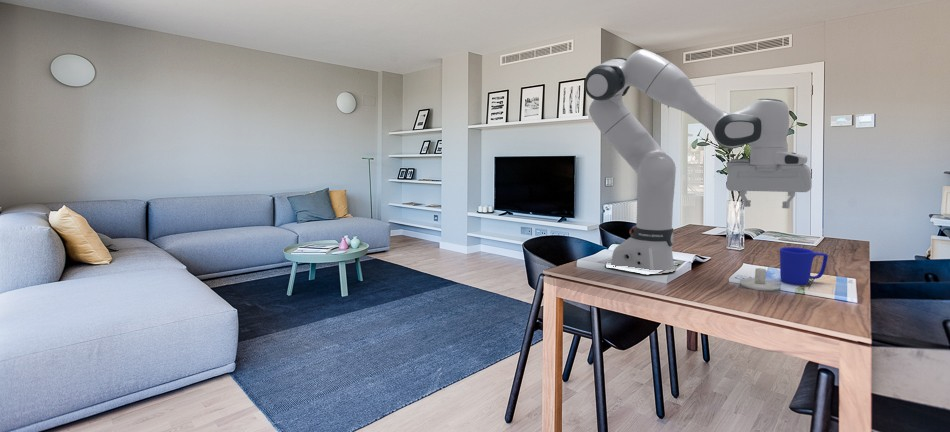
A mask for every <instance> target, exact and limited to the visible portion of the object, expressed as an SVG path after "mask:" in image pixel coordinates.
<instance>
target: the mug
mask: <svg viewBox="0 0 950 432" xmlns="http://www.w3.org/2000/svg"><path fill="white" fill-rule="evenodd" d="M817 256H823V259H822V264H821V268H820V271H819V273H818V274H816V275H813V276H812V275H811V273H812V272H811V271H812V267H813V263H814V262H813V261H814V258H815V257H817ZM828 257H829V254H827V253H824V252H815V251H814V250H812V249H808V248H803V247H792V246H791V247H790V246H787V247H780V249H779V263H780V264H779V273H780V274H779V275H780V276H779V277H780V281H782V282H783V283H785V284H789V285H794V286H804V285H805V286H806V285H807V284H808V283H809V281H810V279H814V280H815V279H816V280H818V279H820V278H821V277H823V275H824V273H825V270H826V268H827V263H828V259H829V258H828Z"/></svg>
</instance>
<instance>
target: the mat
mask: <svg viewBox="0 0 950 432" xmlns="http://www.w3.org/2000/svg"><path fill="white" fill-rule="evenodd" d="M779 284H780V285H781V286H782V284H781V283H779ZM738 289H746V290H753V291H755V290H754V289H750V288H746V287H744V286H742V285H740V283H739V284H738ZM758 291H762V290H758ZM762 292H763V291H762ZM766 292H768V293H774V294H775V293H776V294H781V288H780V289H779V290H776V291H766Z"/></svg>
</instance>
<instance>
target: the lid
mask: <svg viewBox="0 0 950 432" xmlns="http://www.w3.org/2000/svg"><path fill="white" fill-rule="evenodd" d="M754 271H755V272H754V273H755V274H754V278H753V277H751V278H749V277H746V278H741V279H739V284H740V285H742V286H744V287H746V288H750V289H749V290H752V289H754V290H753V291H759V290H762V292H767V291H776V290H779V289H780V290H781V286H782V284H781V283H779V282H777V281H773V280H770V279H766V278H767V277H766V276H767V269H765V268H755V270H754ZM780 284H781V285H780Z"/></svg>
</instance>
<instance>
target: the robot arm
mask: <svg viewBox="0 0 950 432" xmlns="http://www.w3.org/2000/svg"><path fill="white" fill-rule="evenodd" d="M583 86H584V91H585V92H586V94H587V96H589V98H591V99H593V100H592V101H591V103H590V105H589V108H588V112H589V116H590V117H591V120H593V123H594V124H595V125H596V127H597V128H598V130H599V131H600V132H601V134H602V135H603V136H604V137H605V139H606V140H607V141H608V143H610V145H612V146H613V148H614V149H615V151H616V152H617V153H618V154H619V155H620V156H621V157H622V158H623V160H625V162H627V164H628V166H630V167H631V168H632V169H633V170H634V172H635V173H636V174H637V191H636V192H637V198H636V225H633V226H632V227H631V228H630V229H629V231H628V232H629V235H630V237H628V238H627V239H625V240H624V241H623V242H621V243H620V244H619V245H617V246H616V247H615V248H614V249H613V252H612V255H611V259H608V260H607V261H606V262H608V263H611V265H615V267H616V266H628V267H635V268H644V269H649V270H671V269H674V268H675V269H676V267H675V262H674V256H673V244H674V237H675V236H674V235H675V234H674V228H673V213H674V212H673V211H674V210H673V208H674V198H675V197H674V196H675V187H676V186H675V185H676V171H677V169H676V168H677V167H676V164H675V162H674V160H673V159H672V157H671V156H669V155H668V154H667V152H666V151H664V150H663V148H662V147H661V146H660V145H659V143H658V142H657V141H656V140H655V139H654V138H653V136H652V135H651V134H650V133H649V132H648V130H647V129H646V128H645V127H644V126H643V125H642V124H641V122H640V121H639V120H638V119H637V118H636V116H634V114H633V113H632V112H631V110H630V109H629V108H628V107H627V106H626V105H625V103H624V102H623V96H626V94H627V93H628V91H629V89H630V87H634V88H636V89H637V90H639V91H640V92H642V93H643V94H645V95H646V96H648V97H649V98H650V99H652V100H654V101H656V102H657V103H660V104H662V105H664V106H667V107H669V108H673V109H676V110H678V111H681V112H683V113H685V114H687V115H689V116H690V117H692V118H693V119H694V120H695V121H697V122H698V123H700V124H702V125H703V126H704V127H705V128H707V130H709V131H710V132H711V134H712V136H713V138H714V140H715V141H716V142H717V144H718V145H719V146H721V147H723V148H725V149H732V150H733V149H737V148H740V147H743V146H744V145H749V147H750V148H749V150H750V151H749V158H733V159H731V160H729V161H728V162H727V164H726V172H727V177H726V183H725V188H726V190H728V191H729V192H732V191H733V192H734V191H735V192H736V191H737V192H739V196H740V198H741V200H742V201H743V207H744V208H745V207H746V208H749V207H751V202H752V201H751V200H749V199H748V198H747V196H746V195H747V193H748V192H772V193H773V192H775V193H781V192H782V193H784V192H785V193H787V196H788V199H787V200H786V201H782V206H781V208H782V209H790V205H791V201H792V200H793V199H794V198H795V196H796V193H808V192H809V191H811V189H812V187H813V186H812V183H813V181H812V173H811V168H810V167H809V166H808V165H806V164H807V162H808V157H807V156H806V155H803V154H799V153H796V152H791V151H788V150H789V144H788V141H787V137H788V134H789V131H790V113H789V107H788V105H787V103H786V102H785V101H784V100H781V99H778V98H777V99H776V98H775V99H774V98H759V99H756V100H754V102H752V103H750V104H749V105H747V106H745V107H743V108H740V109H739V110H737V111H733V112H730V113H728V112H726V111H724V110H722V109H720V108H719V107H717V106H716V105H715V104H713V103H712V102H710V101H709V100H707V99H706V98H705V97H704V96H702V95H701V94H700V93H699V91H697V89H696V88H695V86H694V85H693V83H692V81H691V80H690V78H689V77H688V76H687V75H686V73H684V71H682V70H681V69H680V68H679V67H678V66H677V65H676V64H674V63H673V62H671V61H669V60H668V59H666V58H664V57H662V56H661V55H659V54H658V53H654V52H652V51H650V50H647V49H644V48H642V49H641V48H640V49H637V50H635V51H634V52H633V53H631V54H630V55H629V56H628V57H627V58H625V57H616V58H615V57H614V58H612V59H609V60H606V61H603V62H602V63H601V64H599V65H597V66H595V67H593V68H591V70H590V71H588V73H587V74H586V76H585V78H584V83H583ZM613 267H614V266H613Z"/></svg>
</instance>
